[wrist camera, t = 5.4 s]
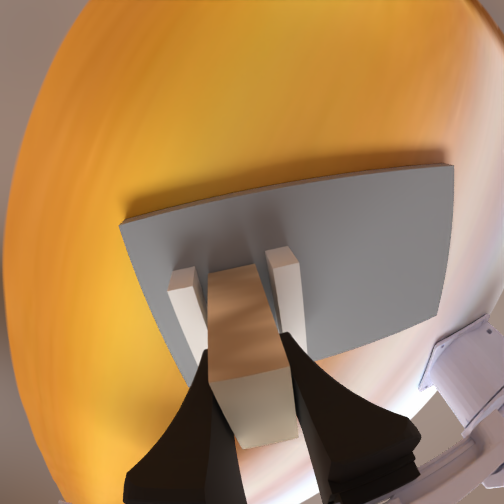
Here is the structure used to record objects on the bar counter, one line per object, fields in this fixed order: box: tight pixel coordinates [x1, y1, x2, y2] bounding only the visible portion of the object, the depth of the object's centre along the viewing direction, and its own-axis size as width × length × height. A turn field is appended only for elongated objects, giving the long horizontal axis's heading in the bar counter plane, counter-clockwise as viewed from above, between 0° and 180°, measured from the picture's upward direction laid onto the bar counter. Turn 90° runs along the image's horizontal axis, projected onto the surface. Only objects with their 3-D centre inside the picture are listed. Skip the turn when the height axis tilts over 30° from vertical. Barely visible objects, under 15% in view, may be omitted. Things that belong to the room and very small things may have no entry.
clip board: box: [119, 163, 454, 387], centre depth 15 cm, size 20×12×3 cm, turn 100°
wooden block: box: [208, 264, 299, 449], centre depth 12 cm, size 2×5×7 cm, turn 10°
